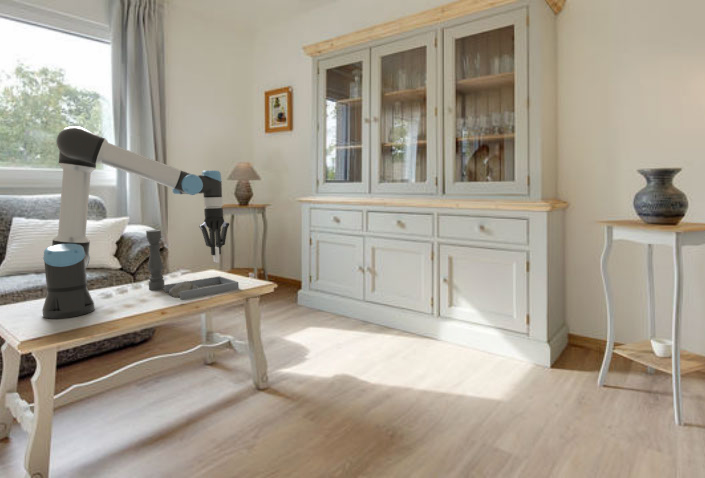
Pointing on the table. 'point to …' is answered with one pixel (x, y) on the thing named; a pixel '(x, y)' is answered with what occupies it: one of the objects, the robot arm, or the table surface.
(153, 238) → the candle holder
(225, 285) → the tray
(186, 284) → the fossilized seashell
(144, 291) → the table surface
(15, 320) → the table surface
